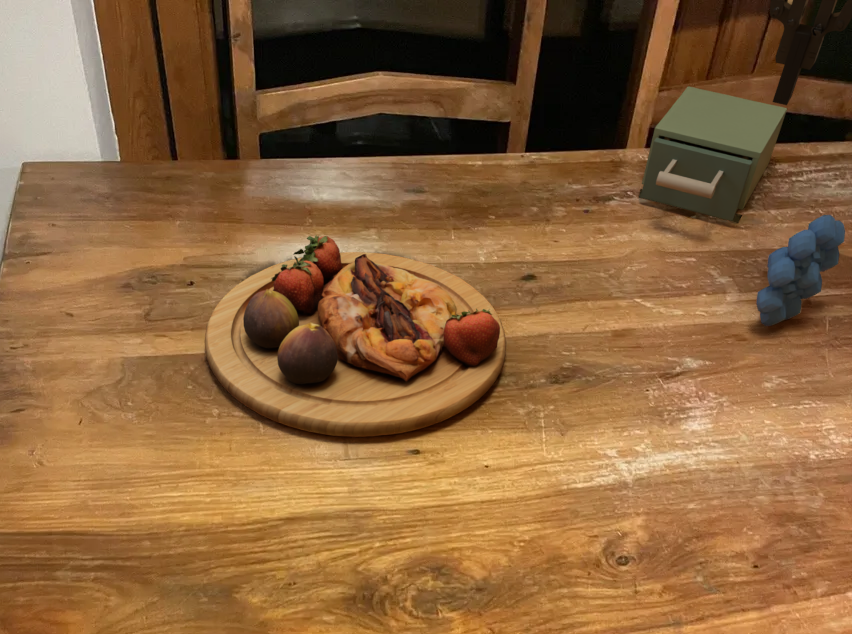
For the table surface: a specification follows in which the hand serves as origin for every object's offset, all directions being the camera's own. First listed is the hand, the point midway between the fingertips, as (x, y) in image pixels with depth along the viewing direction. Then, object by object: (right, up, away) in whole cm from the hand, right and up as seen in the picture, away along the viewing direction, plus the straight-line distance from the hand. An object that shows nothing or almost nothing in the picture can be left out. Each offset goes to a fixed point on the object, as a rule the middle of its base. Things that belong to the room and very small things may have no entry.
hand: (782, 98), depth 97 cm
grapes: (+4, -19, +11) cm, 23 cm away
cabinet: (+2, +5, +32) cm, 32 cm away
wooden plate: (-44, -25, +4) cm, 51 cm away
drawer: (0, +2, +28) cm, 28 cm away
